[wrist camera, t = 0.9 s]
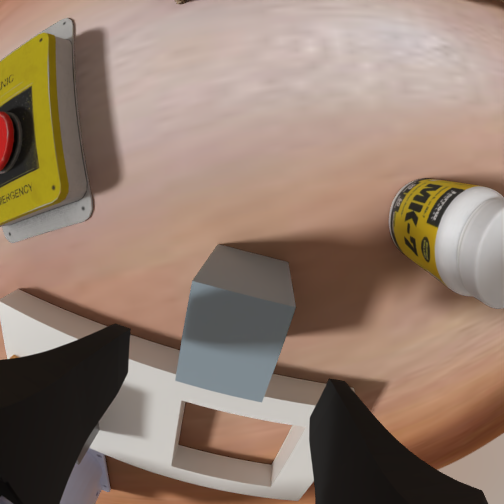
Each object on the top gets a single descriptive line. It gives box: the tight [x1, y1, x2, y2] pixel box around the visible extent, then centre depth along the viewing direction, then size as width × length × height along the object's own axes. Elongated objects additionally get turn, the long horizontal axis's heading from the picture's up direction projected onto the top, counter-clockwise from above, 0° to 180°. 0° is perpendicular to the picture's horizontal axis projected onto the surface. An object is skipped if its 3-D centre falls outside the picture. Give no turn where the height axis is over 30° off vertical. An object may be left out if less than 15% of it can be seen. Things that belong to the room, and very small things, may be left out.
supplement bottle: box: [389, 178, 504, 309], centre depth 12 cm, size 5×5×8 cm
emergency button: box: [0, 18, 93, 243], centre depth 15 cm, size 9×4×15 cm
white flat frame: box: [0, 289, 355, 501], centre depth 19 cm, size 12×26×3 cm, turn 76°
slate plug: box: [175, 244, 296, 402], centre depth 15 cm, size 5×4×6 cm
